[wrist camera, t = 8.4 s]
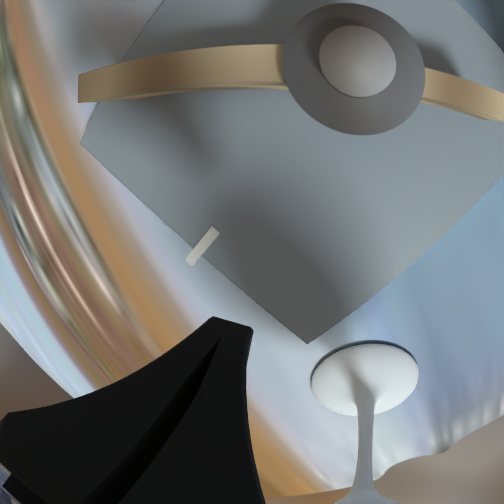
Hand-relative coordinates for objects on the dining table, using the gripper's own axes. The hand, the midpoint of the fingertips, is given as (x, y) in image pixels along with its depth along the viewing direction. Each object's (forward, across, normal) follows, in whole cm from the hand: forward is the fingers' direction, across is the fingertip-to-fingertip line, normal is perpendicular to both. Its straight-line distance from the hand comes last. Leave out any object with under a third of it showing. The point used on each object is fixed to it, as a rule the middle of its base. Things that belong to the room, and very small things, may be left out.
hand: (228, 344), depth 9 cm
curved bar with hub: (+8, +1, -9) cm, 12 cm away
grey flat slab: (+9, 0, -8) cm, 12 cm away
